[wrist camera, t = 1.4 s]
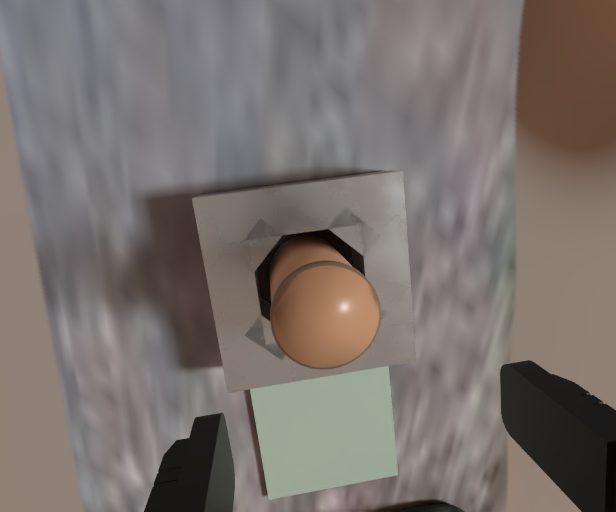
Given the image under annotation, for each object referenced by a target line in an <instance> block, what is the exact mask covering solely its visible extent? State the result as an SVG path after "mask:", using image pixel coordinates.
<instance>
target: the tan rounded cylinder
mask: <svg viewBox="0 0 616 512" xmlns="http://www.w3.org/2000/svg"><path fill="white" fill-rule="evenodd" d="M269 277H270V291H271V310H270V320H271V329H272V333H273V336H274V339H275V341H276V343H277V345H278V346H279V348H280V349H281V350H282V352H283V353H284V354H285V355H286V356H287V357H289V358H290V359H291V360H293V361H294V362H296V363H298V364H300V365H302V366H305V367H308V368H312V369H319V370H327V369H334V368H339V367H342V366H345V365H347V364H349V363H351V362H353V361H355V360H356V359H358V358H359V357H360V356H361V355H362V354H364V353H365V352H366V351H367V349H368V348H369V347H370V346H371V344H372V343H373V341H374V339H375V338H376V336H377V333H378V331H379V327H380V323H381V305H380V301H379V297H378V295H377V293H376V290H375V289H374V287H373V286H372V284H371V283H370V282H369V281H368V279H367V278H366V277H365V276H364V275H363V274H361V273H360V272H359V271H358V270H356V269H355V268H353V267H352V266H351V265H350V264H349V262H348V261H347V260H346V259H345V258H344V257H343V256H342V255H341V254H340V253H339V252H338V251H337V250H336V249H335V248H334V247H333V246H332V245H331V244H330V243H329V242H328V241H326V240H324V239H322V238H320V237H317V236H313V235H301V236H296V237H293V238H291V239H289V240H287V241H286V242H284V243H283V244H282V245H281V246H280V247H279V248H278V249H277V250H276V251H275V253H274V255H273V257H272V259H271V262H270V267H269Z"/></svg>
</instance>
